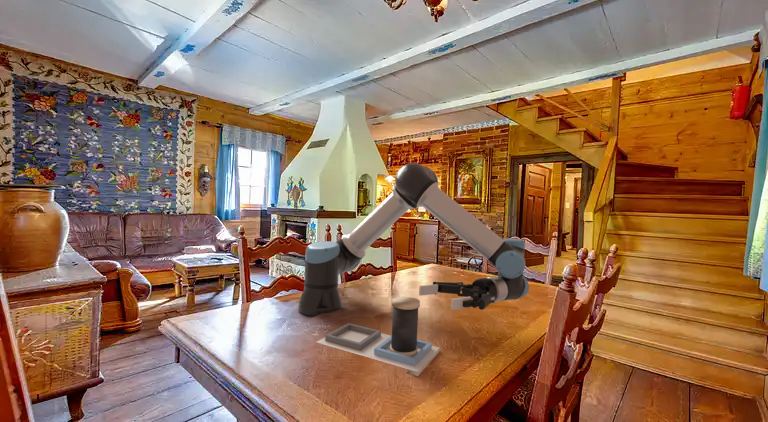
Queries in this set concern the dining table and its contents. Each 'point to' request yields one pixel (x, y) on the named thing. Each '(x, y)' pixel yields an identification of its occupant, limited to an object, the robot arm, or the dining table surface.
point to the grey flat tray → (379, 347)
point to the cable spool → (405, 326)
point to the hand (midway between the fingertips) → (434, 297)
